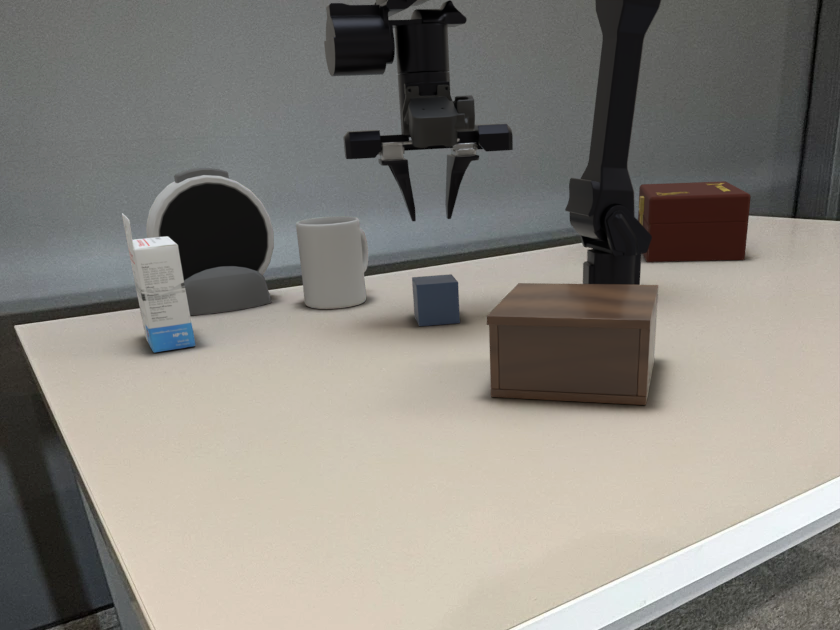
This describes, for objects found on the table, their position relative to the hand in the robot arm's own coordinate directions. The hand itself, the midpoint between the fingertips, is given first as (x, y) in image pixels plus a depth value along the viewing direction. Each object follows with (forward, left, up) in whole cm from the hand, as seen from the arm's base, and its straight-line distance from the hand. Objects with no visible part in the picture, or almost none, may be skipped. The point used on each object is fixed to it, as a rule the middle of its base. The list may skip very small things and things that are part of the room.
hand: (431, 219), depth 93 cm
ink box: (+32, 0, -12) cm, 34 cm away
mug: (+11, -16, -12) cm, 23 cm away
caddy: (-10, +27, -12) cm, 31 cm away
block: (0, 0, -12) cm, 12 cm away
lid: (-9, +27, -5) cm, 29 cm away
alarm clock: (+28, -19, -12) cm, 36 cm away
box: (-47, -34, -12) cm, 59 cm away
